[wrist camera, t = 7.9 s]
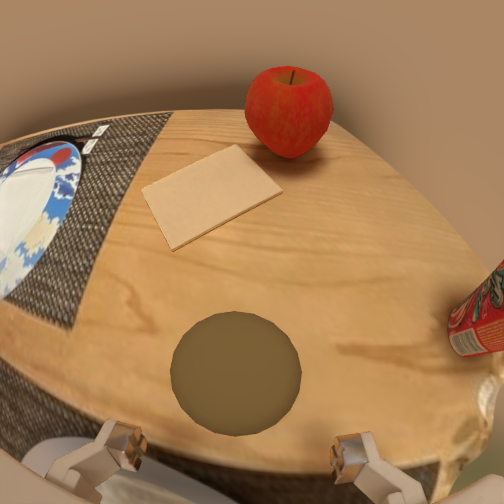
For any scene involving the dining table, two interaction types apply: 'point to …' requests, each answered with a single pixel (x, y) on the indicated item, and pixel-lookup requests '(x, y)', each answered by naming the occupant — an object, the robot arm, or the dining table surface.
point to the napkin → (207, 194)
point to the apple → (288, 109)
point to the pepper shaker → (235, 373)
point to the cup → (480, 318)
